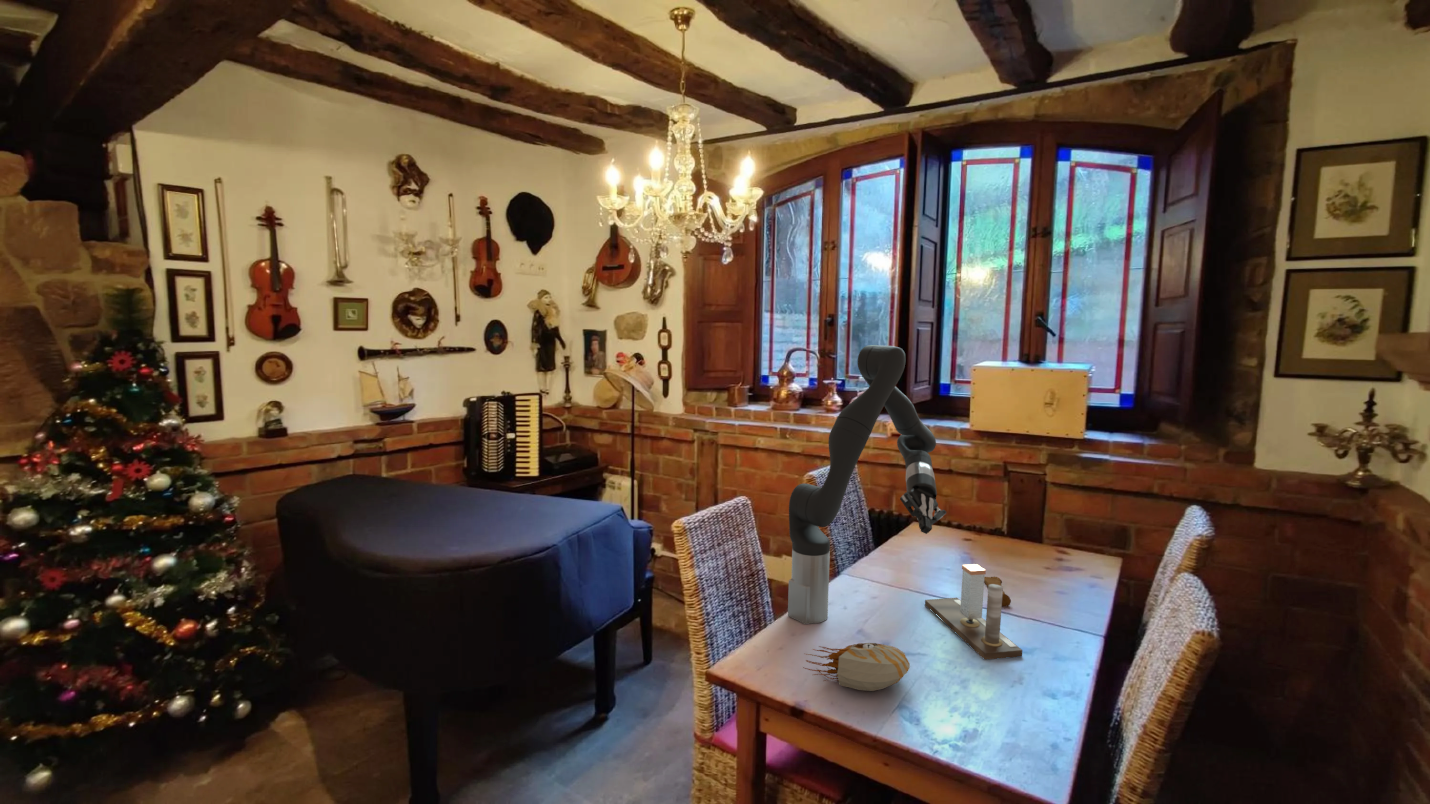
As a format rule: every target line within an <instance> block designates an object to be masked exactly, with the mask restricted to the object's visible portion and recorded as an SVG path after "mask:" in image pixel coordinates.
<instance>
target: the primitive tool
mask: <svg viewBox="0 0 1430 804" xmlns="http://www.w3.org/2000/svg"><path fill="white" fill-rule="evenodd" d="M1002 582H1003V580H1002V579H1001V578H1000V577H998V576H984V585H986V586H987V588H988V585H990V584H996V585H1000V586H1002ZM1011 599H1012V598H1010V596H1009V595H1008V594H1006V593H1005V591H1004V590H1003V594H1002V607H1009V606H1010V605H1011V603H1012V600H1011Z"/></svg>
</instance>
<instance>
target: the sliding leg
mask: <svg viewBox="0 0 1430 804" xmlns="http://www.w3.org/2000/svg"><path fill="white" fill-rule="evenodd" d="M961 570H962V577H961V594H960V600H961V608H960V613H961V614H962V615H964V616H965V617H966V618H967V619H968V621H969V622H973V619H979V618H983V606H984V605H983V603H984V589H985V583H984V577H986V576H985V575H986V573H987V571H986V569H985V568H983V567H981V566H980V565H979V564H977V563H976V564H975V563H973V564H962V565H961Z"/></svg>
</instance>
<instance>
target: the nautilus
mask: <svg viewBox="0 0 1430 804" xmlns="http://www.w3.org/2000/svg"><path fill="white" fill-rule="evenodd" d="M818 648H822V649H815V648H812V651H816V652H823V653H828V655H824V656H821V655H817V654H809V653H803V654H804V655H808V656H814V657H817V658H821V659H826V660H830V661H828V663H822V662H816V661H811V660H807V659H805V662H806V663H809V664H813V665H817V666H821V667H826V669H828V670H823V669H822V670H821V669H818V668H816V669H812V668H807V667H803V666H802V669H805V670H808V671H815V672H818V673H815V674H813V676H818V675H819V676H823V677H825V678H827V679H829V680H834V682H838V684H839V686H841V687H842V686H843V687H846V688H850V689H854V690H857V691H866V692H867V691H868V692H874V691H877V690H878V691H880V690H883V689H885V688H888V687H891V686H892V685H895V684H897V683H899V681H901V680H902V679H903V678H904V676H906V674H907V673H908V671H909V670H910V667H911V666H910V661H909V660H908V658H907V655H906V653H905V652H904V651H902V650H900V649H899V648H897V647H895V646H891V645H888V644H882V643H876V642H865V643H864V642H863V643H862V642H859V643H853V644H850V645H848V646H845V647H844V648H831V647H830V648H829V647H827V646H821V645H818ZM828 650H829V651H828ZM829 667H831V668H829ZM822 672H823V673H822ZM829 676H830V677H829ZM827 679H826V680H825V679H824V680H823V682H825V681H826V682H827Z"/></svg>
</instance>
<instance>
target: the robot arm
mask: <svg viewBox="0 0 1430 804" xmlns="http://www.w3.org/2000/svg"><path fill="white" fill-rule="evenodd" d="M906 363H907V362H906V353H905V351H904V350H903V348H901V347H898V346H893V345H882V344H881V345H879V344H868V345H865V346H864V347H862V349H861V350H860V351H859V353H858V356H857V368H858V370H859V373H860V375H861V377H862V378H863V379H864V380H865V382H866V383H867V385H868V386H869V387H868V388H867V389H866V390H864V392H863V393H861V394H860V395H859V396H858V397H857V398H855V399H854V400H853V401H851V402H850V403H848V405H846V406H845V407H844V408H843V409H842V410H841V411H840V413H839V414H838V416H837V417H836V420H835V422H834V423H833V426H832V428H831V430H830V432H829V435H828V451H829V452H828V453H829V459H830V460H829V461H830V463H829V464H830V465H829V469H828V473H827V475H826V478H825V480H824V483H823V484H822V486H818V485H813V484H811V483H800V484H798V485H796V486H795V487H794V489H793V490H792V492H791V494H790V497H789V502H788V504H789V505H788V523H789V525H788V527H789V529H788V530H789V531H788V532H789V533H788V534H789V537H790V538H789V539H790V541H791V544H792V546H791V548H792V549H791V550H792V551H791V578H790V579H789V580H788V592H787V593H788V594H787V595H788V596H787V599H788V601H787V603H788V604H787V616H788V617H789V618H792V619H794V620H795V621H798V622H800V623H802V624H803V625H808V624H819V623H822V622H825V621H826V620H827V619H828V618H829V617H828V615H829V588H830V587H829V586H830V584H829V583H830V580H829V579H830V559H831V558H830V556H831V555H830V554H831V553H830V552H831V542H830V541H831V540H830V538H829V537H828V536H827V535H826V534H825V532H824V531H822V530H821V529H820V528H826V527H828V526H830V525H831V524H832V523H833V521H834V520H835V519H836V517H837V515H838V512H839V511H840V509H841V505H842V503H843V500H844V497H845V494H846V491H847V489H848V485H849V482H850V479H851V476H852V475H853V473H854V470H855V468H856V465H857V463H858V460H859V459H860V456H861V455H862V453H863V450H864V448H865V447H866V445H867V443H868V440H869V439H870V436H871V435H872V432H873V429H874V427H875V424H876V423H877V421H878V418H879V416H880V414H881V412H882V410H883V408H885V409H886V412H887V413H888V416H889V418H890V420H891V422H892V424H893V426H894V428H895V429H896V432H897V433H898V434H899V436H898V438H897V441H896V444H897V445H896V446H897V448H898V450H899V453H900V454H901V456H902V457H903V460H904V463H905V483H906V484H905V485H906V492H904V493H903V494H902V495H901V497H899V500H900V501H901V502H902V504H903V506H904V507H905V508H906V511H908V513H909V514H910V516H911V517H915V518H916V519H917V521H918V528H919V530H920V532H921V533H923V534H925V535H927V534H928V533H930V531H932V530H933V525H934V524H935V523H937V522H938V521H939V520H940V519H942V518H943V517H944V516H945V515H947V511H946V510H945V509H941V508H940V507H939V503H938V502H937V495H938V491H937V485H936V477H935V473H934V470H933V462H932V457H931V455H930V454H929V453H931V452H933V451H934V449H936V446H937V440H936V437H935V435H934V434H933V431H931V430H930V429H929V427H927V425H925V424H924V422H923V421H922V420H921V419H920V417H919V415H918V413H917V410H916V408H915V406H914V404H913V402H912V401H911V399H910V398H908V396H907V395H905V394H904V392H902V391H901V390H900V389H899V388H898V387H897V384H898V382H899V381H900V379H901V377H902V375H903V373H904V370H905V367H906V366H905V365H906ZM912 507H913V508H912ZM933 512H934V514H933Z"/></svg>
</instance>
